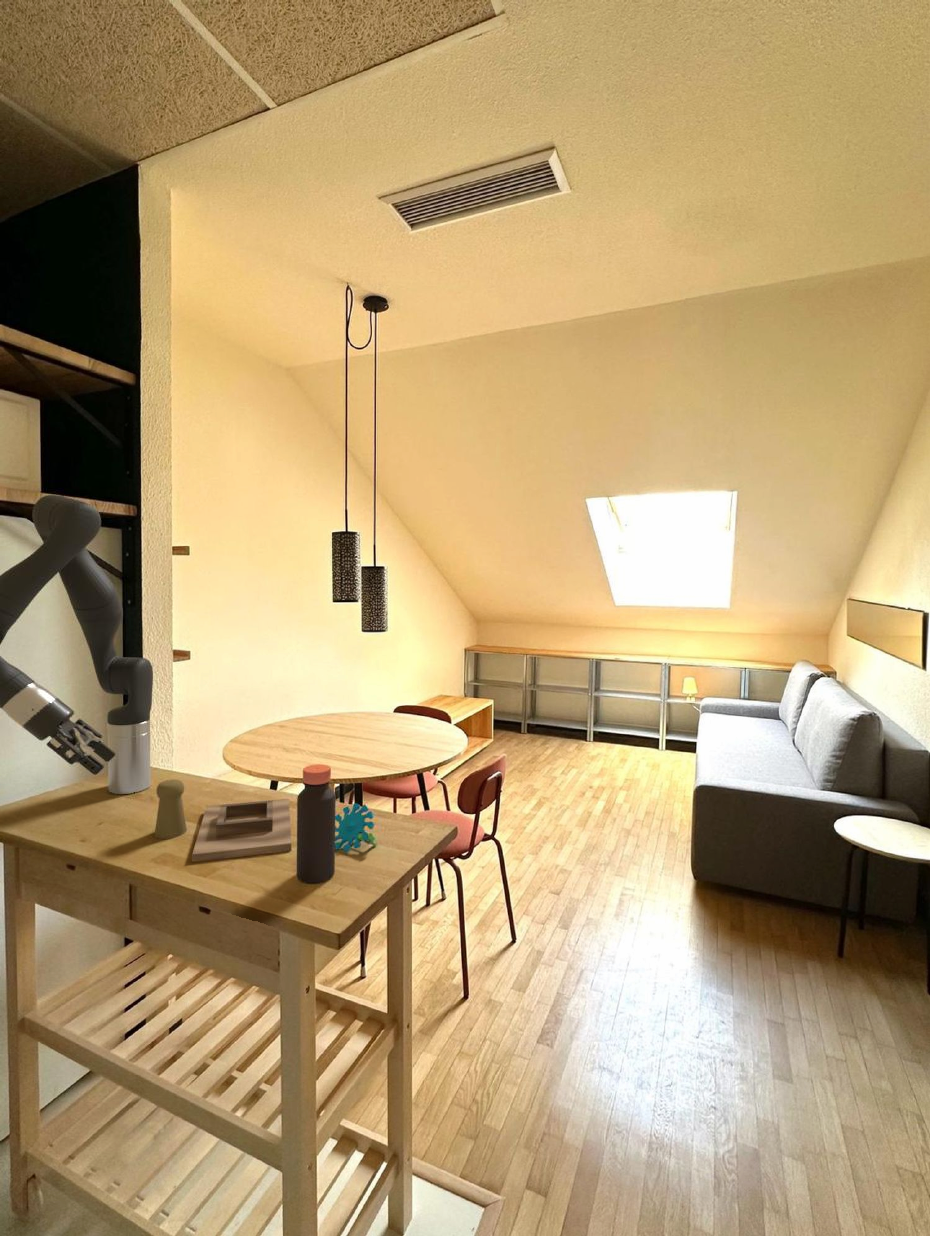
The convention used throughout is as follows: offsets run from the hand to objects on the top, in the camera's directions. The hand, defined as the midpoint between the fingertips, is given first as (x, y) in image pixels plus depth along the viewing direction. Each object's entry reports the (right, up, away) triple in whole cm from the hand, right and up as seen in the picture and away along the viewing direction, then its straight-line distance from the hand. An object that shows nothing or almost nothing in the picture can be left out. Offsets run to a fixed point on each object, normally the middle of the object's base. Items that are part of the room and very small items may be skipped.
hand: (106, 764), depth 116 cm
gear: (+50, -17, +1) cm, 53 cm away
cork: (+11, -16, +5) cm, 20 cm away
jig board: (+26, -16, +7) cm, 31 cm away
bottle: (+45, -18, -11) cm, 50 cm away
